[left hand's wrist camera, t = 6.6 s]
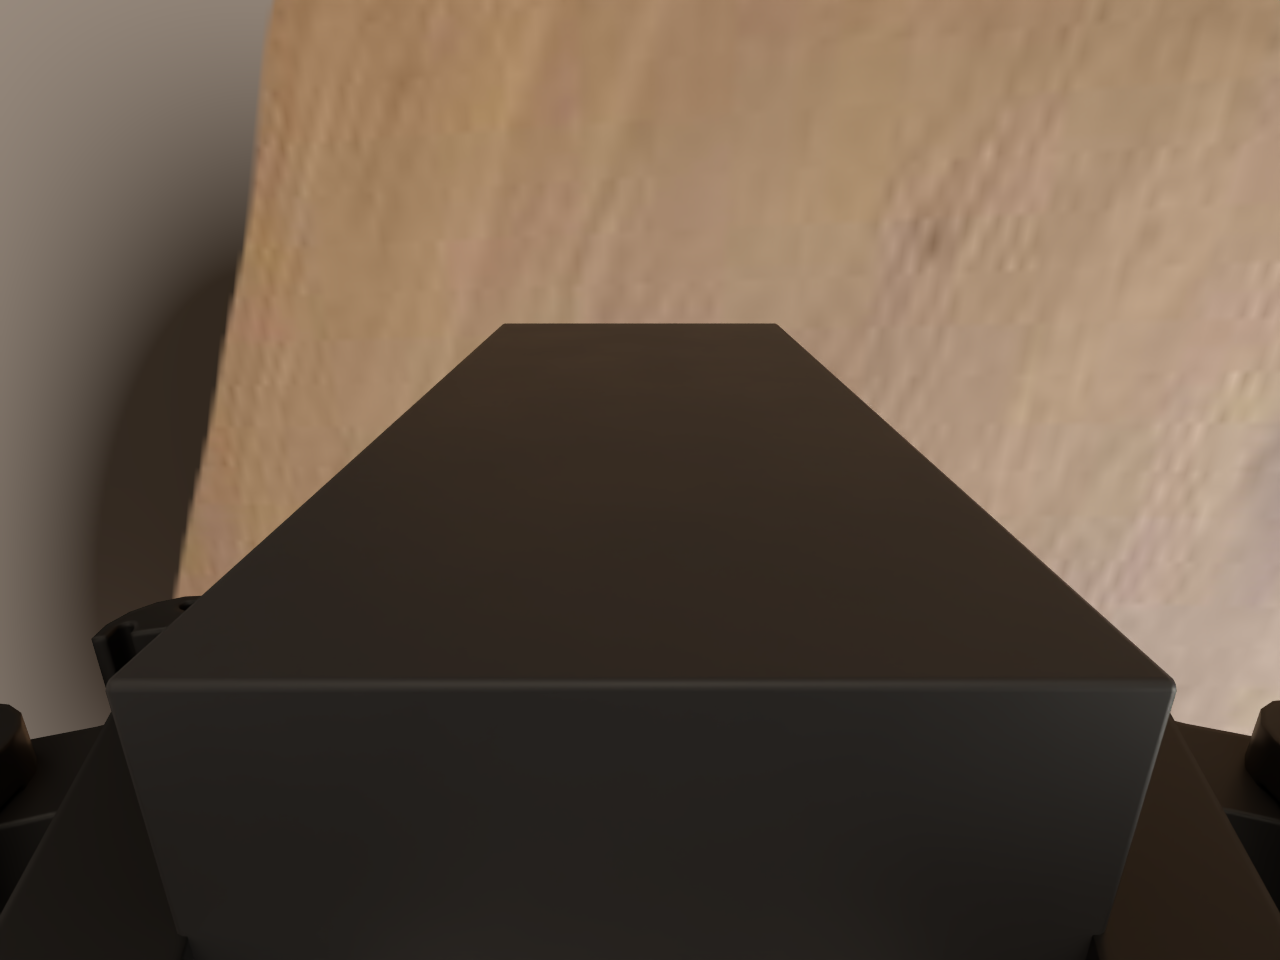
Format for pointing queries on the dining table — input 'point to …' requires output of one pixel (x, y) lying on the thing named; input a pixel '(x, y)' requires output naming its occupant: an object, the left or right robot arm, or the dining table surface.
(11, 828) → the left robot arm
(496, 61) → the dining table surface
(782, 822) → the box
